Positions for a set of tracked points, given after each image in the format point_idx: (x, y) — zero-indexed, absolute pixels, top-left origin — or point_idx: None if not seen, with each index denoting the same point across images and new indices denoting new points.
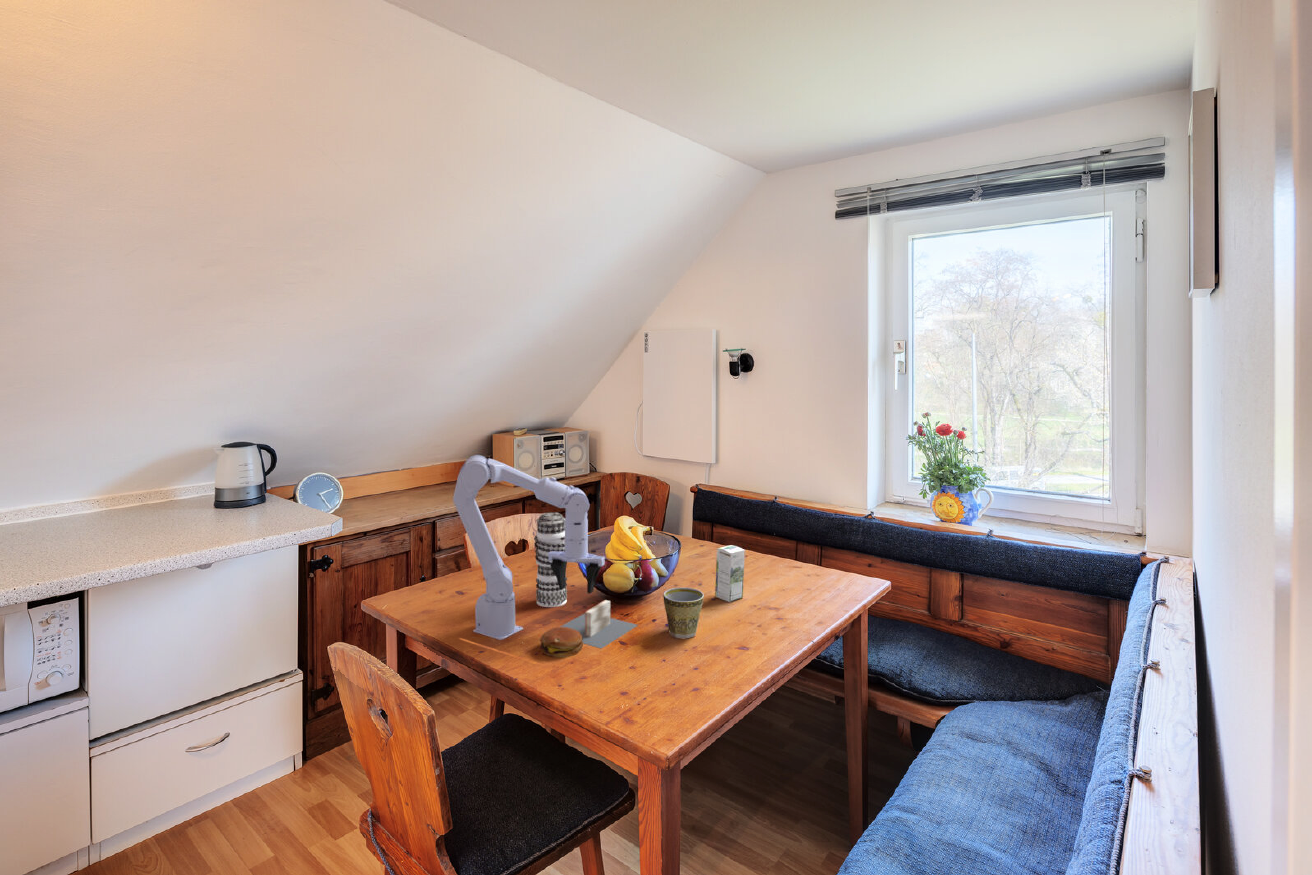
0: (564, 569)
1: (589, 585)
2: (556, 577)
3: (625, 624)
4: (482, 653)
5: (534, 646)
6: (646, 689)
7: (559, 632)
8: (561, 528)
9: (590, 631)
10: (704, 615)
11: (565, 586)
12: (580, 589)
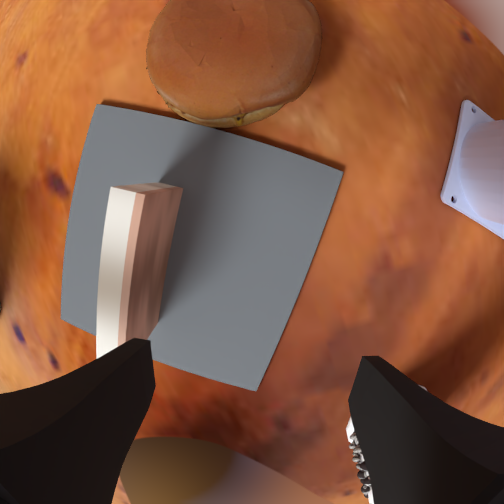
0: (388, 501)
1: (100, 362)
2: (442, 401)
3: (91, 317)
4: (458, 26)
5: (348, 66)
6: (7, 7)
7: (238, 22)
8: None
9: (151, 183)
10: (2, 385)
11: (361, 466)
12: (324, 487)
